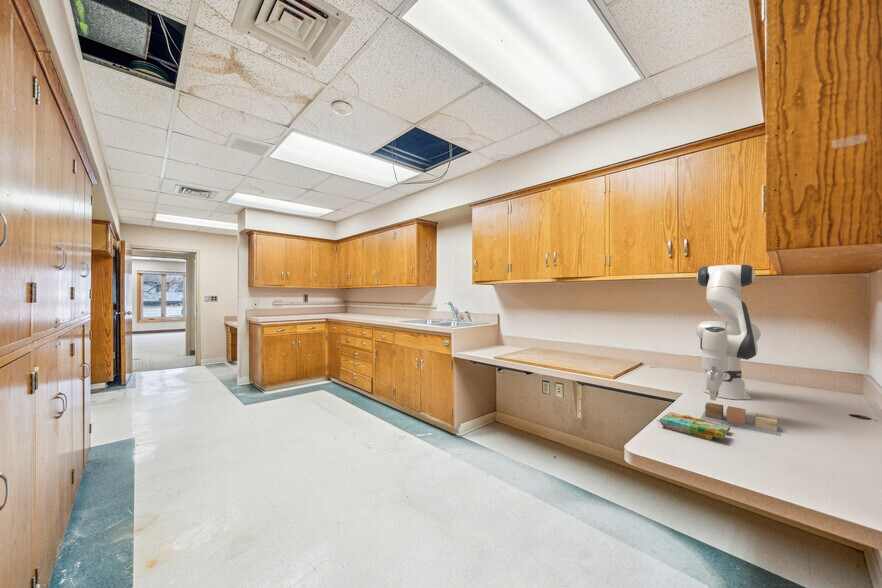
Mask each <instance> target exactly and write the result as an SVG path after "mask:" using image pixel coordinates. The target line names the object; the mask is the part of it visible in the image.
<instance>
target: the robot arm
mask: <svg viewBox="0 0 882 588" xmlns="http://www.w3.org/2000/svg"><path fill="white" fill-rule="evenodd" d="M755 278H756V272H755V270H754V268H753V267H752V265H749V264H744V263H743V264H722V265H721V264H720V265H719V264H718V265H710V266H708V265H707V266H706V265H705V266H702V267H700V268H698V271H697V273H696V281H697V282H698V283H697V284H698V285H700V286H701V287H704V288H706V293H705V295H706V296H705V298H706V302H707V304H708V305H709V306H710V307H711V308H712V310H713V312H714V313H715V314H717V315H719V316H721V317H723V318H725V319H727V321H719V320H714V321H713V320H708V321H700V322H699V323H698V324H697V325H696V330H695V332H696V335H697V337H698V338H699V339H700V340H699V341H700V346H699V347H700V348H699V349H700V350H701V351H702V354H701V369H703V370H705V371H704V372H705V374H706V377H705V381H706V382H705V384H706V385H705V387H706V388H705V389H703V393H706V394H709V400H710V401H716V400H717V398H718V397H719V398H722V399H727V400H728V399H729V400H751V396H750V395H749V394H748V393H747V392H746V391H747V389H746V382H745V381H744V380H743V379H742V377H743V376H742V374H743V373H742V370H741V365H742V364H741V360H745V361H747V360H750V359H752V358H754V357H756V356H757V354H758V349H759V348H758V343H757V342H758V341H759V340H760V338H761V331H760V330H761V329H759V327H758V326H757V325H756V324H754V323H753V322H752V321H751V319H750V314H749V310H748V306H747V304H746V302H744V301H742V300H741V299H742V298H741V296H742V295H741V288H745V287H747V286H750V285H752V284H753V282H754V280H755Z"/></svg>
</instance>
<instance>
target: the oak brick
mask: <svg viewBox="0 0 882 588" xmlns="http://www.w3.org/2000/svg"><path fill="white" fill-rule="evenodd" d="M755 421H756V428H761V429H766V430H771V431H776V432H777V426H778V418H777V416H772V415H768V414H767V415H766V414H761V413H755Z"/></svg>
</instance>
